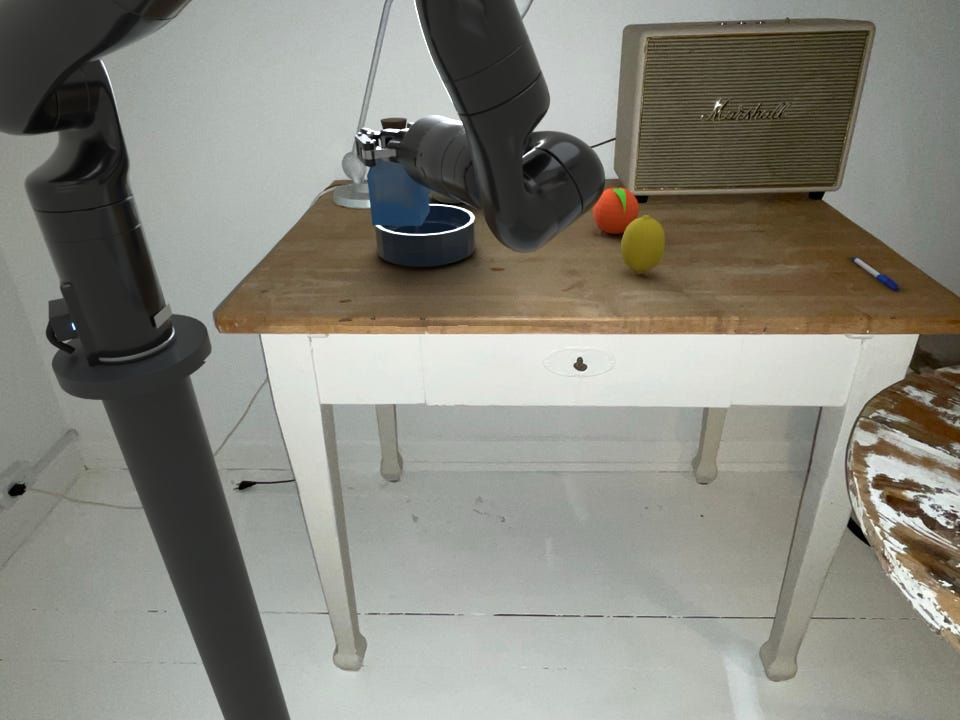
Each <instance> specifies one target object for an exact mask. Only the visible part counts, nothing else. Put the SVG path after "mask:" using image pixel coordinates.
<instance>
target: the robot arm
mask: <svg viewBox="0 0 960 720" xmlns="http://www.w3.org/2000/svg"><path fill="white" fill-rule="evenodd" d="M413 1H414V6H415V12H416V15H417V19H418V22H419V26H420V29H421V33H422V37H423V39H424V42H425V45H426V48H427V50H428V53H429V55H430V56H429V57H430V58H431V61H432V63H433V65H434V67H435V70H436V72H437V74H438V76H439V78H440V80H441V82H442V85H443V87H444V89H445V90H446V91H445V92H446V93H447V95H448V97H449V99H450V101H451V104H452V105H453V107H454V110H455V111H456V114H457V116H458V117H459V119H460V120H458V119H457V120H456V119H454V118H449V117H447V116H443V115H438V114H430V115H426V116H422V117H420V118H418V119H417V120H416V121H414V122H412V121H411V122H406V129H403V130H396V129H386V130H383V129H381V130H382V131H381V130H379V131H376V130H374V129H371V128H368V127H360V129H359V131H358V132H357V134H354V140H355V149H356V158H357V159H358V160H359V161H360V162H361V163H362V165H364V166H365V167H368V168H370V167H373V166H376V163H378V158H382V159H383V160H384V161H386V162H392V163H399V164H401V165H402V166H403V168H404V169H405V171H406V172H407V174H408V175H409V176H410V178H411V179H412V180H414V181H415V182H416V183H418V184H420V185H422V186H424V187H426V188H428V189H430V190H432V191H435V192H437V193H439V194H441V195H443V196H445V197H447V198H450V199H454V200H459V201H461V202H463V204H466V205H467V206H470V207H472V208H474V209H476V210H479V211H481V212H482V215H483V218H484V220H485V223H486V225H487V227H488V228H489V230H490V233H491V234H492V235H493V236H494V238H495V239H496V240H497V241H498V242H499V243H500V244H501V245H503V246H504V247H505V248H507V249H509V250H510V251H513V252H516V253H520V254H531V253H533V252H536V251H537V250H540V249H542V248H543V247H544V246H546V245H548V243H549V242H551V241H552V240H554V239H555V238H556V237H557V236H558V235H559V234H561V233H562V232H563V231H565V230H566V229H567V228H569V227H570V226H572V224H574V223H575V222H577V221H578V220H579V219H580V218H582V217H583V216H584V215H585V214H587V213H588V212H589V211H591V210H592V209H593V207H594V205H595V204H596V203H597V202H598V201H599V199H600V197H601V196H602V194H603V192H604V191H605V186H606V173H605V168H604V166H603V163H602V160H601V159H600V157H599V156H598V154H597V152H596V150H594V148H592V147H591V146H590V145H589V144H587V142H585V141H584V140H582V139H581V138H579V137H577V136H575V135H573V134H569V133H567V132H564V131H557V130H538V131H536V129H537V127H538V126H539V124H540V123H541V122H542V121H543V119H544V118H545V117H546V115H547V113H548V111H549V109H550V104H551V95H550V91H549V87H548V83H547V81H546V78H545V76H544V73H543V71H542V68H541V65H540V62H539V60H538V57H537V54H536V52H535V50H534V46H533V44H532V42H531V39H530V36H529V33H528V31H527V29H526V26H525V24H524V21H523V19H522V16H521V14H520V11H519V7H518V6H517V3H516V0H413ZM192 2H194V0H0V133H2V134H5V135H8V136H15V137H16V136H17V137H34V136H40V135H47V134H52V133H57V137H58V140H57V144H56V146H55V148H54V150H53V151H52V153H51V154H50V155H49V157H48V158H47V159H45V161H43V162H42V163H41V164H40V165H39V166H37V167H36V168H34V169H33V170H32V171H30V172H29V173H28V174H27V175H26V176H25V178H24V181H23V187H24V191H25V194H26V196H27V199H28V202H29V204H30V205H29V206H30V207H31V209H32V212H33V215H34V217H35V221H36V222H37V226H38V228H39V231H40V233H41V237H42V238H43V241H44V244H45V246H46V249H47V251H48V254H49V256H50V259H51V262H52V265H53V267H54V270H55V272H56V276H57V278H58V280H59V283H58V284H59V290H60V293H61V295H62V297H61V298H56V299H51V300H48V302H47V304H48V321H47V325H46V328H45V337H46V339H47V341H48V342H49V343H50V344H51V345H52V346H53V347H55V348H57V349H58V350H59V349H61V350H63V351H65V352H67V353H69V354H72V353H73V352H74V351H75V348H74V347H72V346H70V345H68V344H66V343H67V342H68V341H70V340H72V339H76V338H79V340H80V343H81V345H82V348H83V351H84V353H85V356H86V358H87V361H88V364H89V366H90V367H92V366H96V365H120V364H127V363H133V362H137V361H141V360H144V359H147V358H150V357H152V356H155V355H157V354H159V353H161V352H163V351H164V350H166V349H167V348H169V347H170V346H171V345H172V344H173V343H174V341H175V339H176V334H175V330H174V327H173V326H172V322H171V319H170V316H171V315H172V314H173V312H172V307H171V304H170V303H168V304H167V303H166V299H165V297H164V292H163V290H162V286H161V282H160V280H159V276H158V273H157V269H156V266H155V262H154V259H153V256H152V253H151V250H150V246H149V243H148V239H147V235H146V232H145V229H144V226H143V225H144V224H143V222H142V219H141V215H140V212H139V209H138V205H137V202H136V199H135V196H134V192H133V191H134V190H133V188H132V183H131V179H130V176H131V175H130V173H131V161H130V160H131V159H130V154H129V150H128V146H127V142H126V138H125V133H124V129H123V126H122V125H123V124H122V121H121V116H120V111H119V108H118V103H117V98H116V94H115V91H114V86H113V83H112V80H111V77H110V74H109V71H108V68H107V66H106V64H105V62H104V60H103V58H105V57H107V56H109V55H112V54H115V53H116V52H119V51H120V50H123V49H125V48H128V47H130V46H132V45H134V44H136V43H138V42H141V41H142V40H145V39H146V38H148V37H150V36H152V35H153V34H155V33H157V32H159V31H160V30H162V29H164V28H166V27H167V26H168V25H169V24H171V23H172V22H173V21H174V20H176V19H177V18H178V17H179V16H180V15H181V14H183V12H185V10H186V9H187V8H188V7H189V6H190V5H191V4H192ZM392 136H394V138H393V139H392ZM66 341H67V342H66Z"/></svg>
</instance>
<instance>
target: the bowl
mask: <svg viewBox="0 0 960 720" xmlns="http://www.w3.org/2000/svg"><path fill="white" fill-rule="evenodd" d="M429 207H430V212H429V214H428V215H427V217H426V219H425V220H424V222H423V224H422V225H421V226H388V225H373V226H374V235H375V244H376V245H375V246H376V251H377V256H379V257H380V258H381V259H382V260H384V261H386V262H388V263H391V264H394V265H400V266H406V267H414V268H431V267H440V266H445V265H448V264H449V265H450V264H454V263H457V262H459V261H462V260H464V259H466V258H469V257H470V256H471V255H472V254H473V253H475V250H476V247H477V243H476V242H477V241H476V240H477V239H476V237H477V236H476V216H475V214H474V213H473V212H472V211H470V210H468V209H466V208H463V207H460V206H456V205H448V204H439V203H429Z"/></svg>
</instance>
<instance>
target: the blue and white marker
mask: <svg viewBox="0 0 960 720" xmlns="http://www.w3.org/2000/svg"><path fill="white" fill-rule="evenodd" d="M851 259H852V261H854V263H855V264H857V265H858V266H859V267H860V268H862V269H863V270H865V271H866V272H867V273H869V274H870V275H871V276H873V277H875V278H876V279H877V280H878V281H880V282H881V283H882V284H883V285H885V286H887V287H888V288H889V289H891V290H892V291H894V292H897V291H899V289H900V288H899V285H898V284H897V282H896V281H894V279H892V278H891V277H889V276H888V275H886V274H882V273H880V272H878V271H877V270H876V269H874V268H873V267H871V266H870V265H869V264H867V263H866V262H865V261H863V260H861V259H860V258H858V257H857V256H853V257H852V258H851Z"/></svg>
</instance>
